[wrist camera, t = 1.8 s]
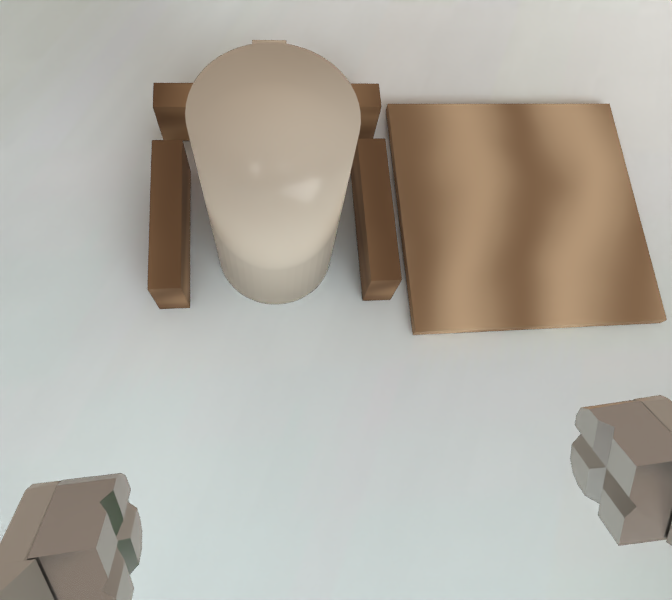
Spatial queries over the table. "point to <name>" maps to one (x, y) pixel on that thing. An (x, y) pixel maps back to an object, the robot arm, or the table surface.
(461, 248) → the square wooden board
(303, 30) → the table surface
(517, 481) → the table surface
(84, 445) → the table surface
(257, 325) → the table surface
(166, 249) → the holder
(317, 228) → the white cylinder
